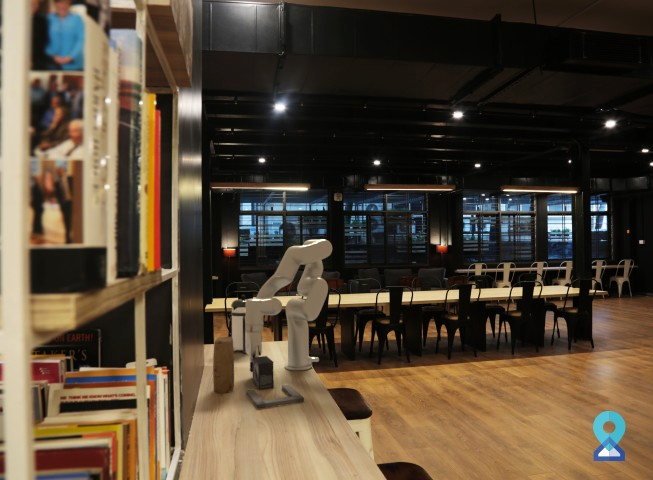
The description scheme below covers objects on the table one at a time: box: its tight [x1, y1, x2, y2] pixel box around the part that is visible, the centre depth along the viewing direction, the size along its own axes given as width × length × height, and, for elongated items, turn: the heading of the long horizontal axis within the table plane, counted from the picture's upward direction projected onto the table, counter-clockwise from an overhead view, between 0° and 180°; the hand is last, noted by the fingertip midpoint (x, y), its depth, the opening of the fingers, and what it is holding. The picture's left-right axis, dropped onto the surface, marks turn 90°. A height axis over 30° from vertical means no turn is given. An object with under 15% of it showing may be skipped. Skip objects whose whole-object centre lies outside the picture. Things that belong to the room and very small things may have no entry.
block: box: [212, 336, 235, 394], centre depth 174 cm, size 11×8×20 cm
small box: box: [252, 355, 275, 391], centre depth 179 cm, size 11×6×10 cm, turn 23°
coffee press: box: [230, 294, 249, 355], centre depth 242 cm, size 17×16×30 cm
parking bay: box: [245, 384, 305, 410], centre depth 164 cm, size 17×17×2 cm
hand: (254, 371), depth 191 cm, fingers closed
